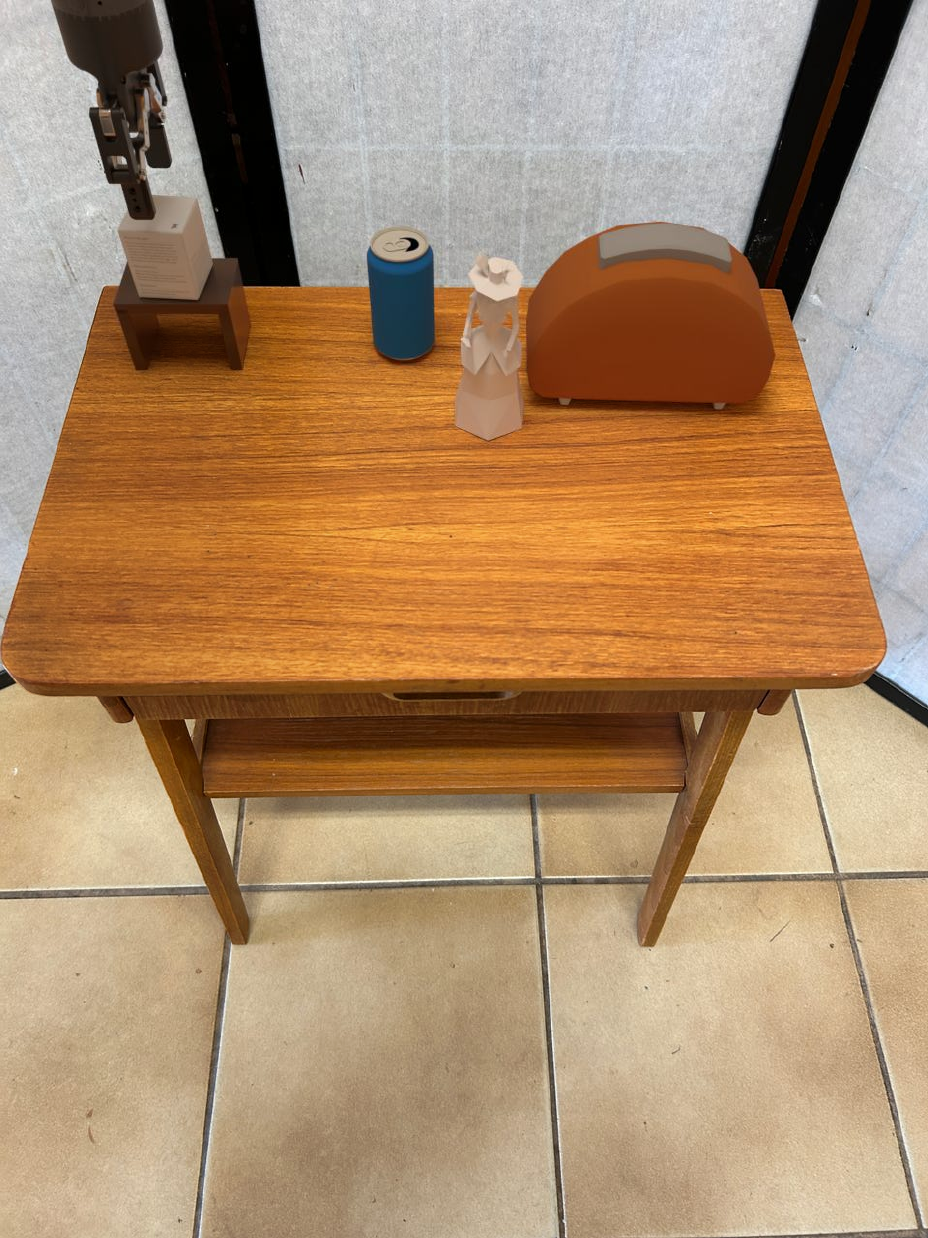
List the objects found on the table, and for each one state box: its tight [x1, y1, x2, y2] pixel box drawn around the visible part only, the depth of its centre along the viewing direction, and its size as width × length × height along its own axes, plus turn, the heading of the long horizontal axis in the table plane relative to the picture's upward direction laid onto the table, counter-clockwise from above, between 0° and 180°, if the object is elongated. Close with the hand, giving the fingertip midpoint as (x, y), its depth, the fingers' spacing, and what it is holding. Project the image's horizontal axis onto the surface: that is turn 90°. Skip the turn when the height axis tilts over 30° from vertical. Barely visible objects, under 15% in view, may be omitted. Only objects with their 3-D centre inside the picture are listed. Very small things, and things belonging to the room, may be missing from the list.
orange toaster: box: [525, 221, 776, 410], centre depth 91 cm, size 23×9×17 cm, turn 88°
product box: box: [117, 194, 213, 300], centre depth 91 cm, size 6×6×7 cm
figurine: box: [454, 251, 525, 442], centre depth 87 cm, size 7×8×18 cm
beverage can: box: [366, 225, 436, 361], centre depth 96 cm, size 6×6×12 cm
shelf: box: [112, 257, 252, 371], centre depth 97 cm, size 8×11×8 cm
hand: (152, 191), depth 86 cm, fingers open, 8 cm apart
